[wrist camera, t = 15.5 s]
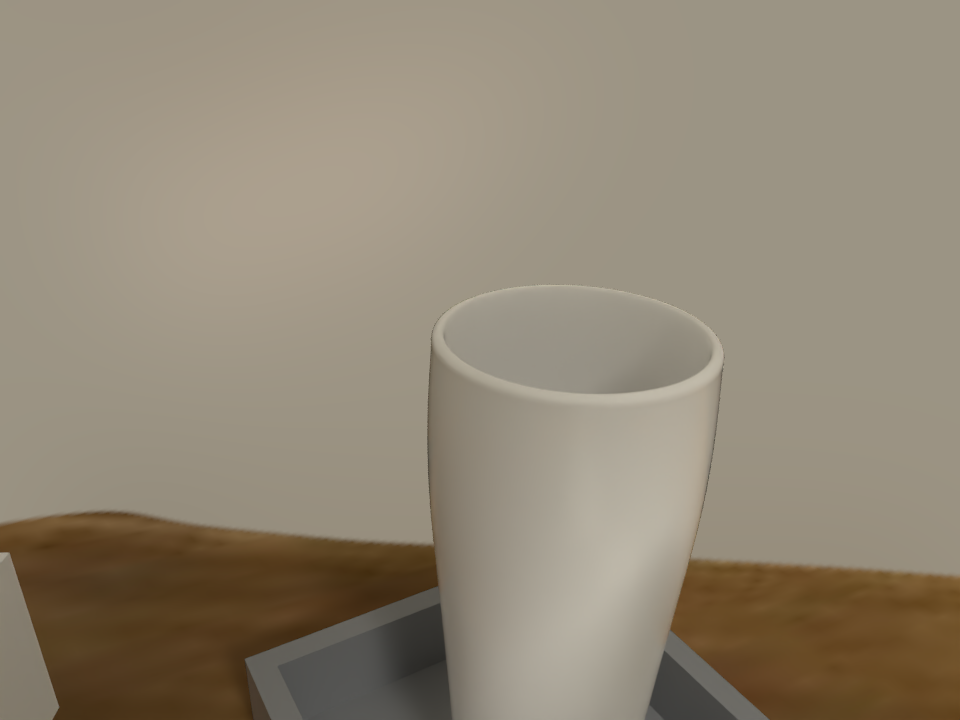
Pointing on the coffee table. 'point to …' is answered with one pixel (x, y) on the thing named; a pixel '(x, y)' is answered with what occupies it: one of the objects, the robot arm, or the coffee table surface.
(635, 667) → the white cup
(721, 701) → the tray
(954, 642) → the coffee table surface
